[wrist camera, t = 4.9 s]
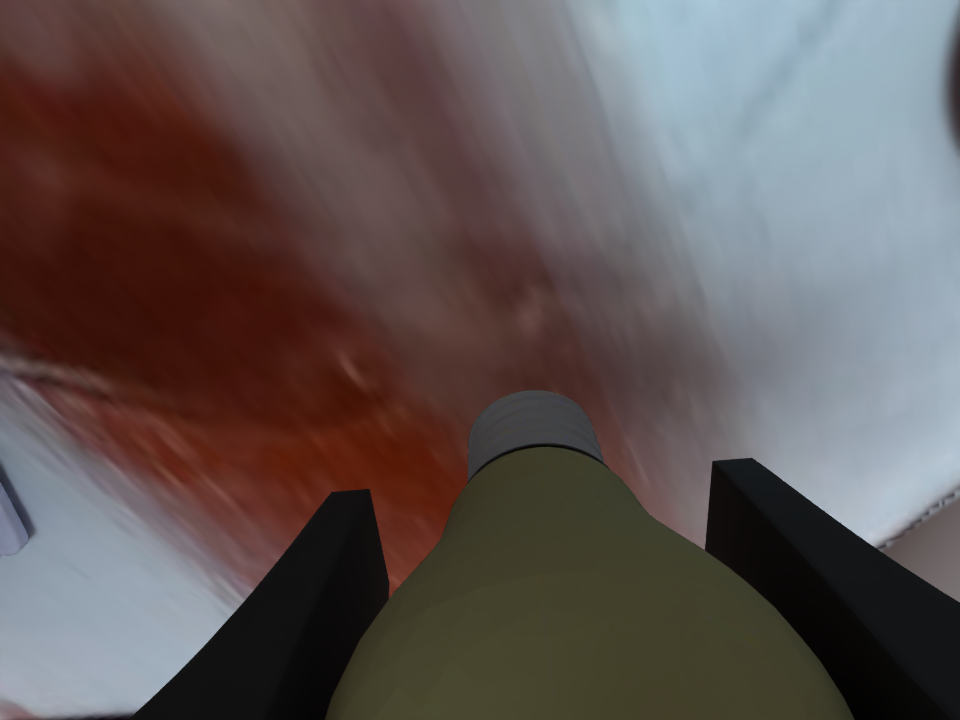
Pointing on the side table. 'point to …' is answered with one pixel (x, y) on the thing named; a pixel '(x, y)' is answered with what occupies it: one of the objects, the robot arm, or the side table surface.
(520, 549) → the light bulb
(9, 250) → the side table surface
